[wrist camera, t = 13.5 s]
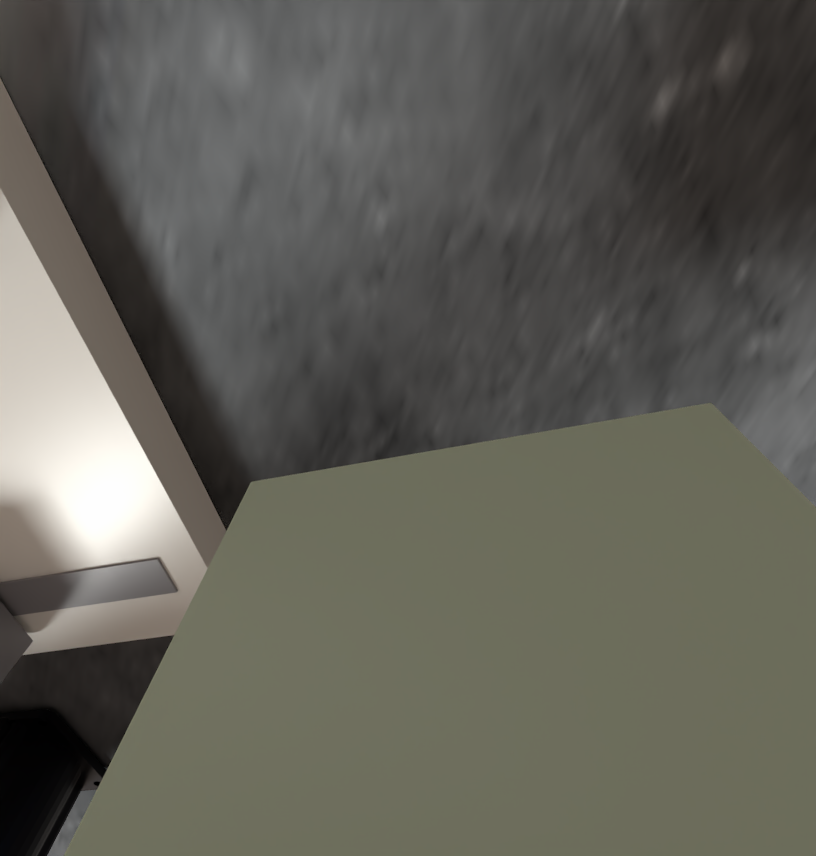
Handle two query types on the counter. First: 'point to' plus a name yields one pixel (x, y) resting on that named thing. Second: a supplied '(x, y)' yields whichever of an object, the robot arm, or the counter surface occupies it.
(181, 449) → the panel
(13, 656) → the plain breaker lever
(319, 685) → the cap
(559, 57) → the counter surface
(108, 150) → the counter surface
